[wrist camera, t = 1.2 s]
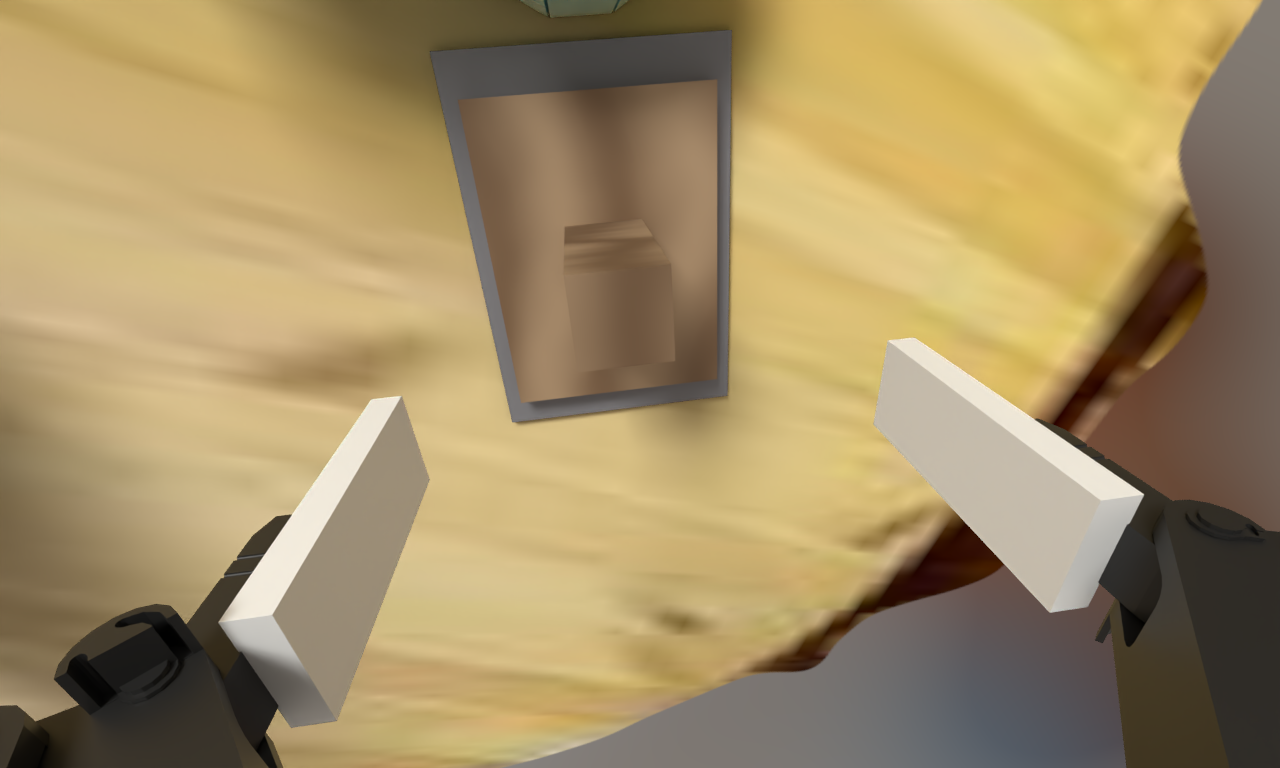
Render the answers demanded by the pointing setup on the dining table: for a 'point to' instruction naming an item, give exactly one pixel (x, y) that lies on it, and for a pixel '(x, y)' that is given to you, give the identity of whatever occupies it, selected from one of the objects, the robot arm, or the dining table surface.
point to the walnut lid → (601, 233)
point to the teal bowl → (574, 7)
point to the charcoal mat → (583, 71)
